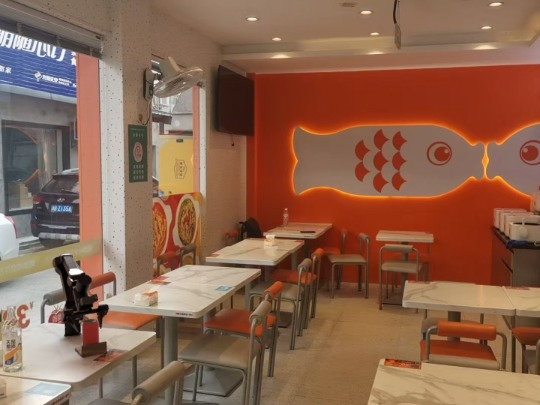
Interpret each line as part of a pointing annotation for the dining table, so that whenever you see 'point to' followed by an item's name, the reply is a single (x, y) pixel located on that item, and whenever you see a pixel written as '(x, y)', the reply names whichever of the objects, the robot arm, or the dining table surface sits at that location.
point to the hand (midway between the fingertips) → (90, 330)
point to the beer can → (90, 332)
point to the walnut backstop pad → (92, 349)
